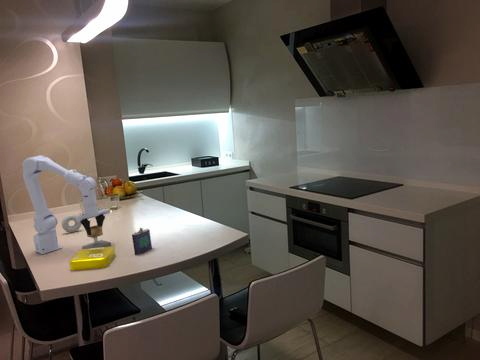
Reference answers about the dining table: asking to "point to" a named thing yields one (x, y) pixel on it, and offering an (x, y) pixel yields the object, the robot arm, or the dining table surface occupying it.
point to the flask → (141, 241)
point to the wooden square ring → (95, 231)
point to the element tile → (92, 258)
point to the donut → (66, 225)
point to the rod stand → (97, 244)
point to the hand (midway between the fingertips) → (94, 232)
